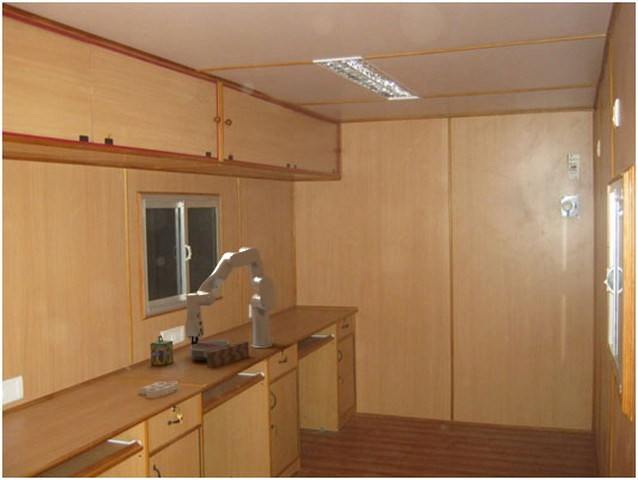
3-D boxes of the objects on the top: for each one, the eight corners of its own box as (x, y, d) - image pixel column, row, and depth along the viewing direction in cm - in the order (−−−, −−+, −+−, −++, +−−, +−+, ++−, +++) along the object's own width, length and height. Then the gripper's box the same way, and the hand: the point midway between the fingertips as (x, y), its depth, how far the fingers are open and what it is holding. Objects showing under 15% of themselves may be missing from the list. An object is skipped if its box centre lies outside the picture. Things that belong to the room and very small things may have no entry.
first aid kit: (212, 364, 362) (235, 354, 385) (212, 350, 362) (235, 341, 385) (184, 362, 368) (208, 352, 392) (183, 348, 368) (207, 339, 391)
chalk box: (166, 365, 361) (166, 337, 360) (150, 365, 363) (149, 337, 362) (174, 361, 370) (173, 334, 369) (158, 361, 372) (157, 334, 371)
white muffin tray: (159, 386, 321) (185, 389, 314) (133, 396, 305) (159, 400, 298) (159, 379, 321) (184, 382, 314) (133, 389, 305) (159, 392, 298)
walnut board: (244, 355, 380) (244, 341, 380) (248, 356, 379) (248, 342, 378) (207, 367, 355) (207, 351, 355) (211, 367, 354) (211, 352, 353)
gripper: (208, 315, 381) (209, 348, 382) (188, 313, 389) (189, 345, 390) (199, 317, 375) (199, 351, 375) (179, 315, 383) (180, 348, 384)
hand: (194, 348), depth 383 cm, fingers closed
